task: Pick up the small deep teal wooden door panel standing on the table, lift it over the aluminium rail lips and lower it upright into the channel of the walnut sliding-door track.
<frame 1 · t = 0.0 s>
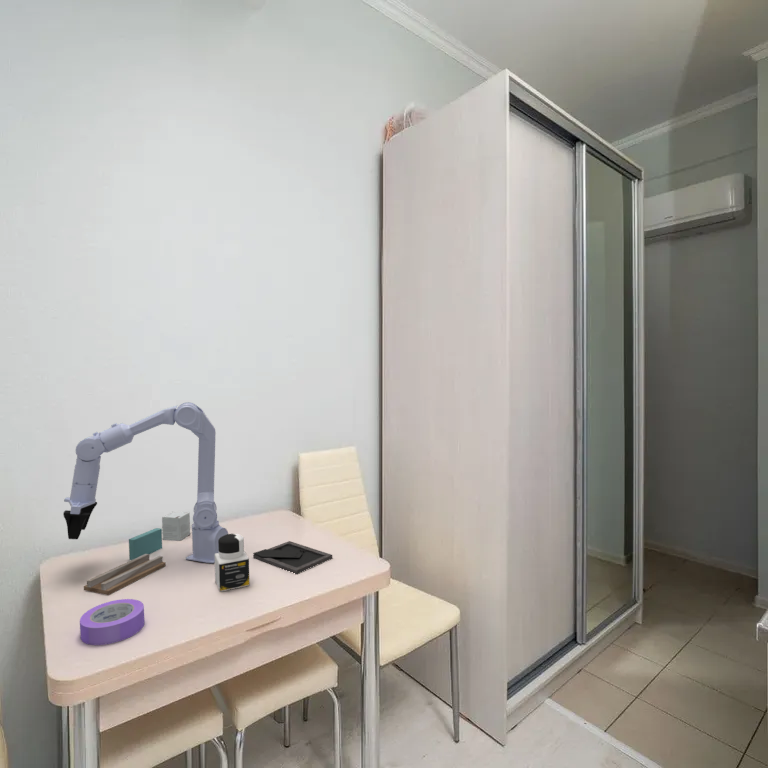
hand: (77, 534, 130), 11 cm above the table, fingers open, 7 cm apart
door panel: (146, 554, 144), on the table
masking tape: (113, 631, 103), on the table
picture frame: (292, 560, 140), on the table
door track: (127, 577, 128), on the table
skincare box: (176, 537, 158), on the table
medicine bottle: (232, 584, 124), on the table
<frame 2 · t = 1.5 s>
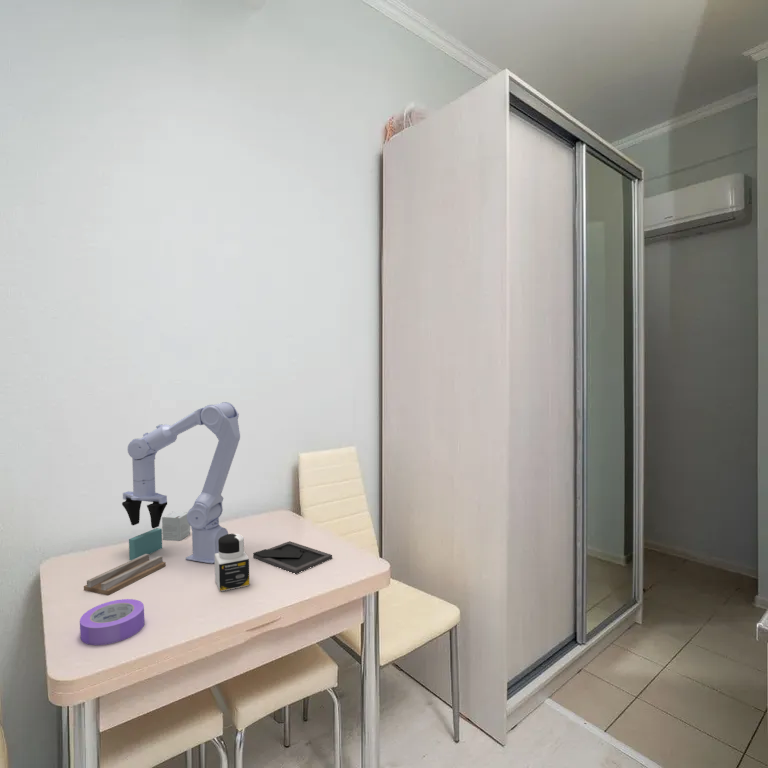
hand: (145, 525, 144), 8 cm above the table, fingers open, 7 cm apart
nothing on the table moved.
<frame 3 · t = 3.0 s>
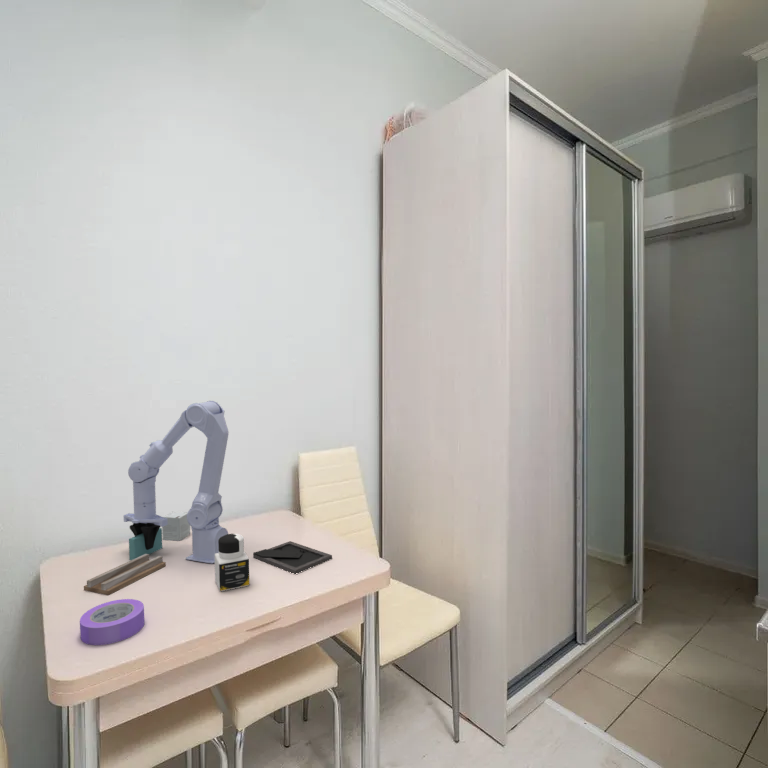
hand: (146, 548, 144), 2 cm above the table, fingers closed on door panel, 2 cm apart
door panel: (146, 553, 144), on the table, touching gripper
everything else where it was.
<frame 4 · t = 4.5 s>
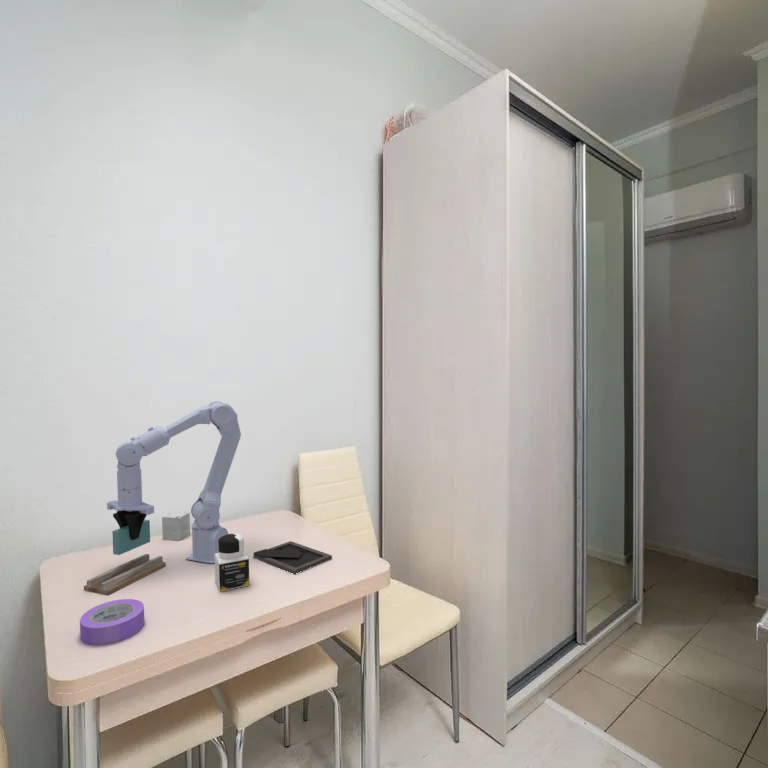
hand: (131, 538, 132), 9 cm above the table, fingers closed on door panel
door panel: (132, 547, 132), point 6 cm above the table, touching gripper
everything else where it was.
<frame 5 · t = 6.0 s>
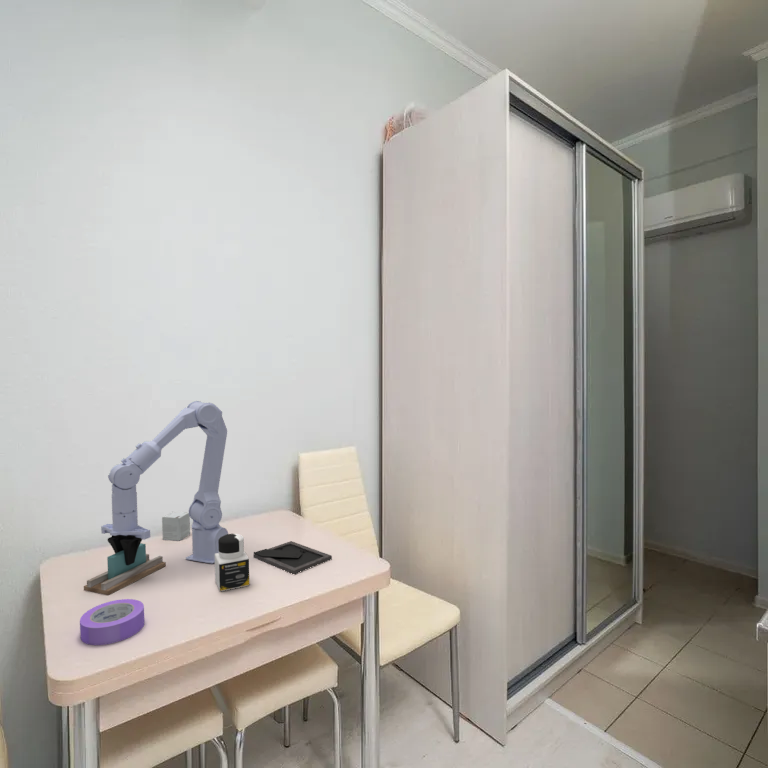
hand: (126, 563, 128), 4 cm above the table, fingers closed on door panel, 2 cm apart
door panel: (127, 573, 128), point 1 cm above the table, touching door track, gripper
everything else where it was.
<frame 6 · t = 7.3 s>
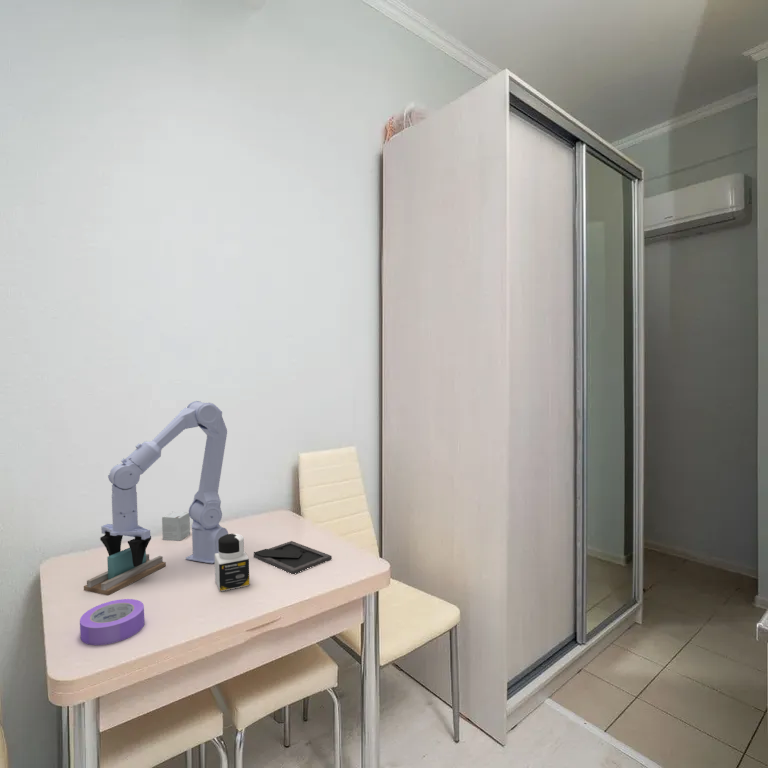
hand: (126, 563, 128), 4 cm above the table, fingers open, 7 cm apart
door panel: (127, 573, 128), point 1 cm above the table, touching door track
everything else where it was.
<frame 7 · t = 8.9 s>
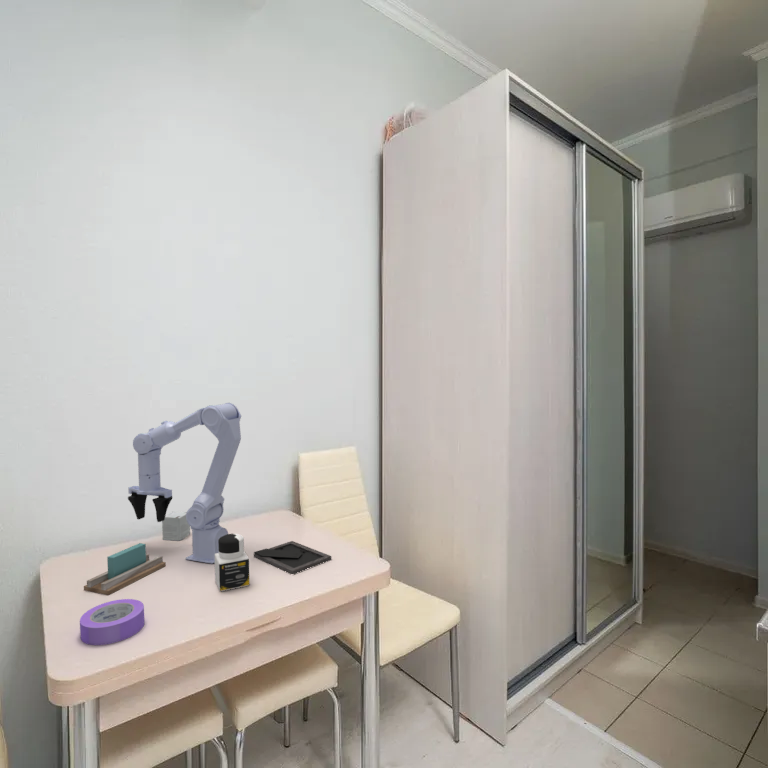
hand: (150, 519, 145), 9 cm above the table, fingers open, 7 cm apart
nothing on the table moved.
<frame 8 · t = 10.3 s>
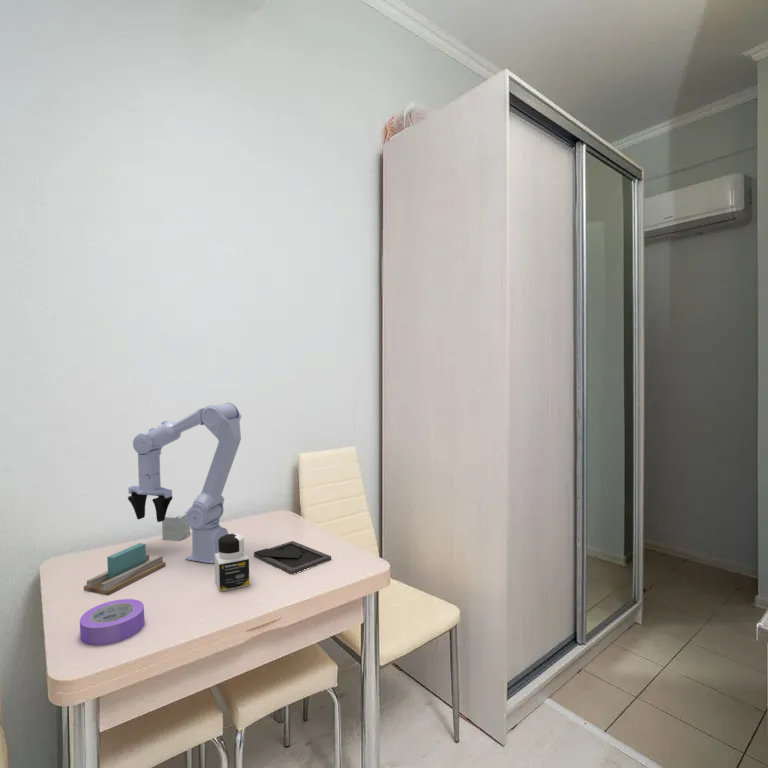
hand: (150, 519, 145), 9 cm above the table, fingers open, 7 cm apart
nothing on the table moved.
at the end: door panel 0.3 cm off-centre on the door track, point 1.0 cm above the door track's base; door panel tilted 0°; the gripper is holding nothing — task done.
